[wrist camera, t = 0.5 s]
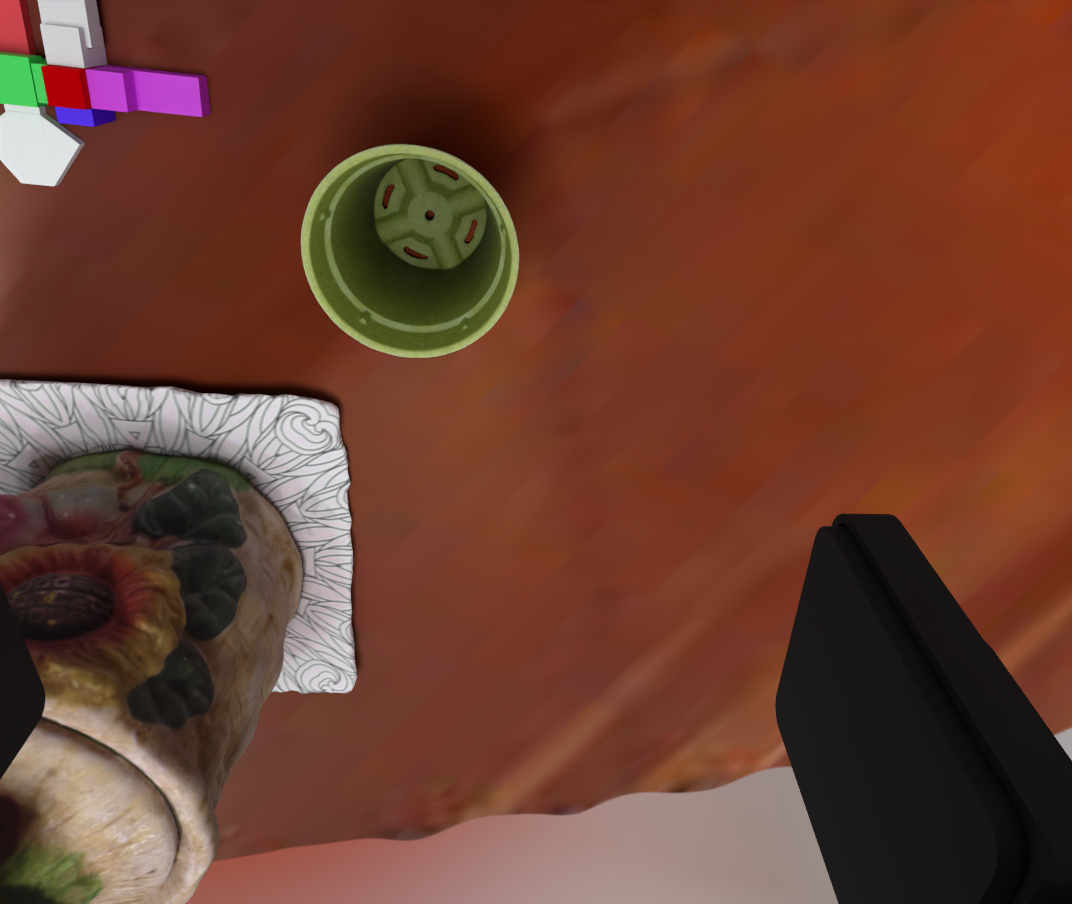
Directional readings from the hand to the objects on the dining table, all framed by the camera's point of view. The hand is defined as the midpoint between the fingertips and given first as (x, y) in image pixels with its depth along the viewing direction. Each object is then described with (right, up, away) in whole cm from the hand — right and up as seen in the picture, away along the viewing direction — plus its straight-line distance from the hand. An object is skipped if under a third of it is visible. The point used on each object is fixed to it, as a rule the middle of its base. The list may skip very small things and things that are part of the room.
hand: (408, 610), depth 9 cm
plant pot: (-4, +15, +33) cm, 36 cm away
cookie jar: (-23, -4, +44) cm, 49 cm away
